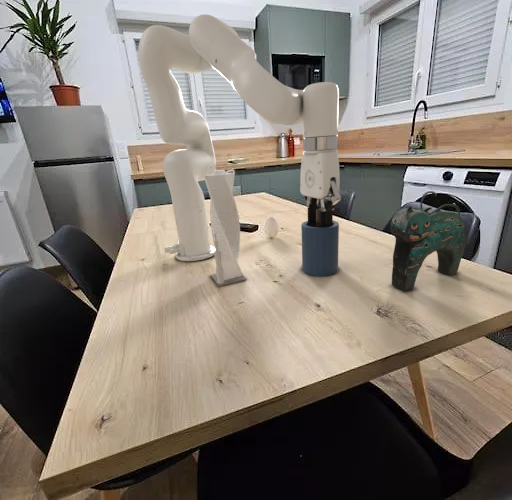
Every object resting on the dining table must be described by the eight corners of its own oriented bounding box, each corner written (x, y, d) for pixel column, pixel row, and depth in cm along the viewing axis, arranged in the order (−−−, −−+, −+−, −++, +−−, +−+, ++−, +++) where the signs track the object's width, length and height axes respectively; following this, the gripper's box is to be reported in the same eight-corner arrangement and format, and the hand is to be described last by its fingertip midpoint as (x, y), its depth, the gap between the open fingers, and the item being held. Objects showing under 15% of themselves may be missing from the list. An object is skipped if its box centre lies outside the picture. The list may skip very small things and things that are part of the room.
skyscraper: (209, 274, 78) (195, 164, 69) (238, 267, 81) (228, 161, 72) (218, 286, 71) (203, 165, 62) (250, 278, 74) (240, 161, 65)
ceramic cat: (402, 295, 60) (412, 197, 54) (378, 284, 66) (384, 194, 60) (467, 274, 67) (482, 185, 61) (440, 265, 73) (451, 183, 67)
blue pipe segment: (314, 279, 71) (314, 230, 67) (296, 266, 79) (294, 223, 75) (345, 271, 74) (346, 224, 70) (324, 260, 82) (324, 217, 78)
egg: (277, 239, 103) (276, 218, 100) (262, 239, 105) (261, 218, 102) (281, 235, 108) (280, 214, 105) (267, 234, 109) (265, 214, 107)
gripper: (287, 147, 73) (289, 220, 79) (328, 145, 58) (327, 235, 64) (313, 145, 75) (313, 216, 81) (359, 143, 60) (355, 229, 66)
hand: (319, 223), depth 72 cm, fingers open, 4 cm apart
